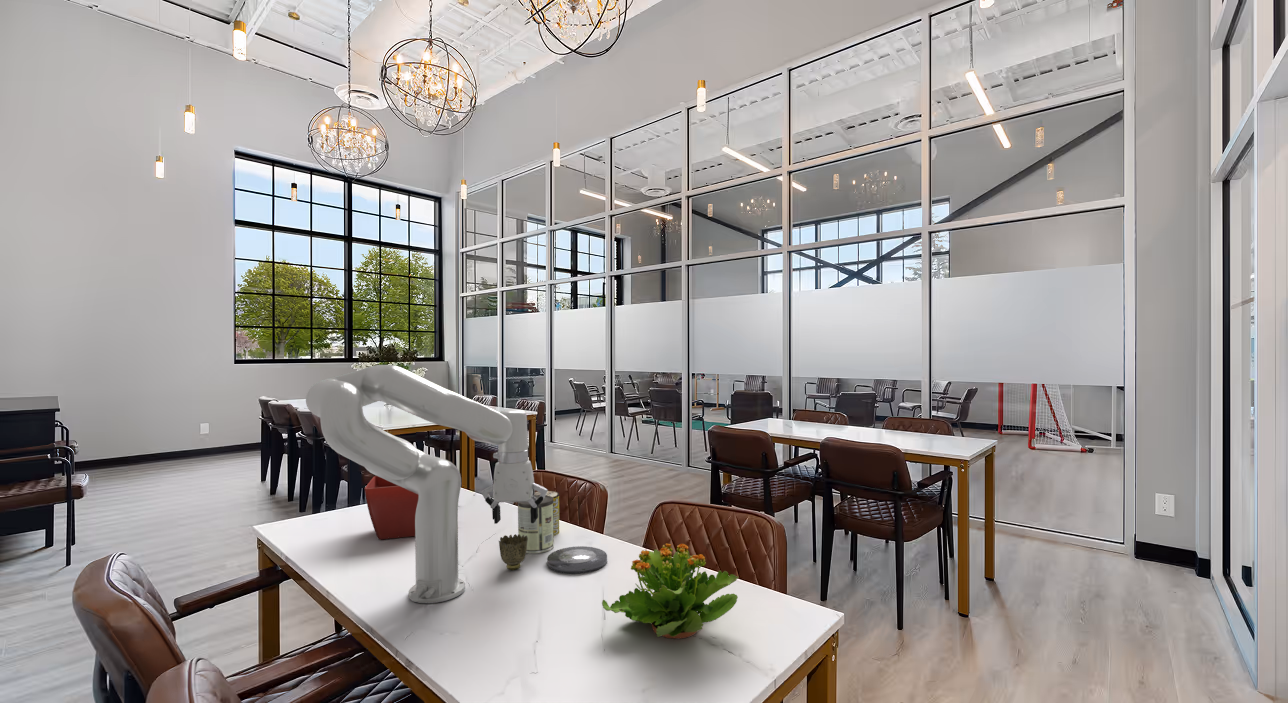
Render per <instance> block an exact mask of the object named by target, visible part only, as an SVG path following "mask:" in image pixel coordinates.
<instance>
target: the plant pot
mask: <svg viewBox="0 0 1288 703" xmlns="http://www.w3.org/2000/svg"><path fill="white" fill-rule="evenodd" d="M364 496H365V500H366V505H367V509H368V513H369V514H368V515H369V517H370V520H371V521H370V522H371V524H372V527H373V529H374V532H375V535H376V537H377V539H378V540H389V539H397V538H399V539H400V538H408V537H415V514H416V508H417V504H418V498H419V495H418V494H416V493H414V492H412V491H409V490H407V489H405V488H403V487H400V486H398V485H396V484H394V483H392V482H389V481H387V480H385V479H383V478H381V477H378V476H376V475H375V476H373V477H372V478H371V479H370V480H369V482H368V483H367V485H366V486H365V487H364Z"/></svg>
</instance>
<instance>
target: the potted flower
mask: <svg viewBox="0 0 1288 703" xmlns="http://www.w3.org/2000/svg"><path fill="white" fill-rule="evenodd" d="M673 551H674V549H673V548H672V544H670V543H665V544H663V545H662V547H661V548H660V549H659V550H658V549H654V550H653V551H651V550H644V549H641V551H640V553H639V554H638V558H639V559H634V560H632V561H631V564H632V565H630V570H632V571H635V573H636V574H637V579H638V583H639V584H640V586H639V584H637V583H635V585H636V587H635V588H634V589H633V591H631V590H628V592H627V593H626V594H621V595H620V596H619V597H618V600H615V601H614V602H612V603H611V605H610V606H609V604H608V601H606V599H603V600H602V602H601V604H602V608H603V609H604V610H605V611H606V612H609V611H610V612H613V613H615V614H617V613H623V614H624V613H625V614H624V616H625V617H626V618H629V620H631V621H632V622H634V621H635V622H641V623H643V624H651V627H652V630H653V633H655V635H656V637H664V638H665V639H673V640H675V639H684V638H689V637H692V636H694V635H695V634H697V633H698V632H699V631H701V630H703V625H704V624H705V623H711V622H713V621H716V620H718V619H719V618H721V617H722V616H724V615H725V614H726V613H728V612H729V611H731V610H732V608H733V607H734V606H735V605H736V603H737V601H738V595H737V594H735V593H731V594H730V593H726V594H722V595H720V596H717V597H716V598H715V599H712V600H711V601H710V602H709V603H705V601H706V600H708V599H709V598H710V597H712V596H713V595H714V594H717V592H719V591H720V590H722V589H725V588H727V587H728V586H731V584H733V583H734V582H736V581H737V579H739V575H738V576H736V575H735V574H733V573H731V574H729V572H728V571H726V570H723V572H722V570H718V572H717V574H716V575H715V574H710V575H709V576H708V574H707V571H706V570H704V571H703V572H701V571H700V569H701V568H702V567H705V565H706V564H707V562H706V557H705V556H704V555H703V554H696V555H695V554H692V555H690V551H689V546H688V545H687V544H685V543H680V544H678V545H677V548H676V552H674V554H673ZM672 554H673V555H672ZM695 569H697V572H696V570H695ZM699 571H700V572H699ZM695 572H696V575H695V576H694V574H695ZM642 583H643V584H642ZM643 585H644V586H645V588H644V587H643ZM703 623H704V624H703Z"/></svg>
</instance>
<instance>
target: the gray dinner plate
mask: <svg viewBox="0 0 1288 703" xmlns="http://www.w3.org/2000/svg"><path fill="white" fill-rule="evenodd" d="M546 558H547V559H546V564H547V567H548V569H549V570H551V571H553V572H556V573H560V574H565V575H570V574H571V575H579V574H587V573H592V572H595V571H597V570H600V569H602V568H604V567H605V566H606V565H607V564H608V554H607V552H606V551H604V550H603V549H600V548H598V547H595V546H593V547H592V546H579V545H578V546H569V547H564V548H560V549H557V550H554V551H552V552H551V553H550V554H548V556H547V557H546Z"/></svg>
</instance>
